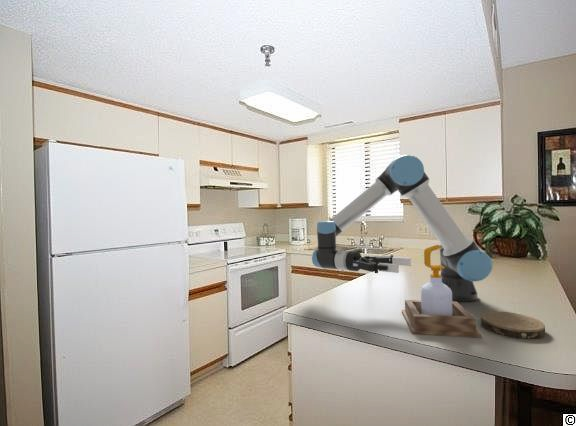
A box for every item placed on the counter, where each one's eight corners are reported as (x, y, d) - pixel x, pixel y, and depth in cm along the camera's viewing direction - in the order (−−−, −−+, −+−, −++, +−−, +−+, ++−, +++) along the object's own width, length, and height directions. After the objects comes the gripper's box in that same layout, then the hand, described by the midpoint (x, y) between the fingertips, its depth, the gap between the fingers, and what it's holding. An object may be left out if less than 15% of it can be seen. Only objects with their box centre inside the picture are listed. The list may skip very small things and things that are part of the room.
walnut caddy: (458, 314, 106) (458, 300, 106) (481, 337, 87) (481, 320, 87) (401, 312, 110) (401, 298, 110) (411, 333, 91) (411, 317, 91)
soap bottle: (458, 325, 94) (456, 246, 94) (428, 325, 94) (426, 247, 94) (444, 315, 103) (443, 243, 103) (417, 315, 103) (415, 244, 103)
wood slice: (545, 327, 94) (545, 318, 94) (544, 345, 82) (544, 334, 82) (485, 316, 104) (485, 308, 104) (476, 331, 93) (476, 321, 92)
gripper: (362, 265, 127) (415, 269, 114) (333, 276, 108) (392, 283, 95) (362, 247, 127) (414, 249, 114) (332, 255, 108) (391, 259, 95)
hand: (404, 265), depth 104 cm, fingers open, 13 cm apart
